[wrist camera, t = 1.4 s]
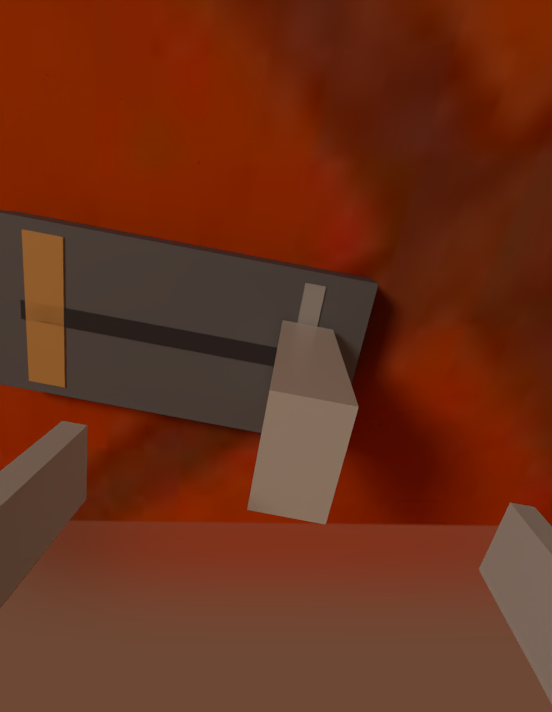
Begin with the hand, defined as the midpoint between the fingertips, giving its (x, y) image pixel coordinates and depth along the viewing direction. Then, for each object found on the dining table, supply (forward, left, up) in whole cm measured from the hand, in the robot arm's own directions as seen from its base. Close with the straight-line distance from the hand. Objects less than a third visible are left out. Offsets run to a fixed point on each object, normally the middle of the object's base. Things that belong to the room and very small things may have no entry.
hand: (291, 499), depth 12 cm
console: (+8, 0, -15) cm, 17 cm away
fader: (0, 0, -12) cm, 12 cm away
